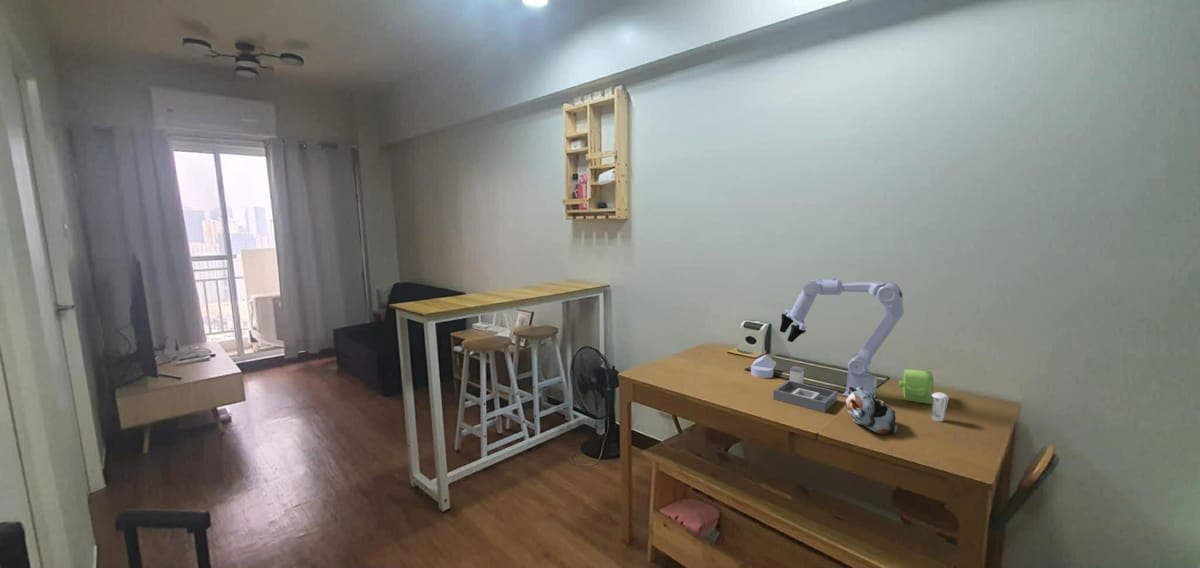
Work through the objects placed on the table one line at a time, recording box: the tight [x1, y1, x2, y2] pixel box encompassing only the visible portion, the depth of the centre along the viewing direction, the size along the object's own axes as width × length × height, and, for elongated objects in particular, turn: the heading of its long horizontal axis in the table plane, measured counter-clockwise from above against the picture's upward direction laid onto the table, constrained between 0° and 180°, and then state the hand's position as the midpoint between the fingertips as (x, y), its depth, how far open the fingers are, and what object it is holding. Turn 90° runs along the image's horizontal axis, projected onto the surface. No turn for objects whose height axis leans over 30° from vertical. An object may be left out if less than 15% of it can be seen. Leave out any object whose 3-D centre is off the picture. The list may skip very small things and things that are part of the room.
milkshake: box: [929, 389, 950, 423], centre depth 151 cm, size 4×5×10 cm
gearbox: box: [898, 369, 934, 405], centre depth 170 cm, size 18×10×10 cm, turn 149°
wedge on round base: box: [750, 354, 777, 379], centre depth 197 cm, size 9×7×13 cm
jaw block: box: [789, 365, 805, 384], centre depth 183 cm, size 4×4×7 cm
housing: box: [772, 379, 839, 414], centre depth 168 cm, size 18×14×4 cm
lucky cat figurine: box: [845, 387, 898, 436], centre depth 147 cm, size 15×12×14 cm
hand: (785, 336), depth 186 cm, fingers open, 7 cm apart
